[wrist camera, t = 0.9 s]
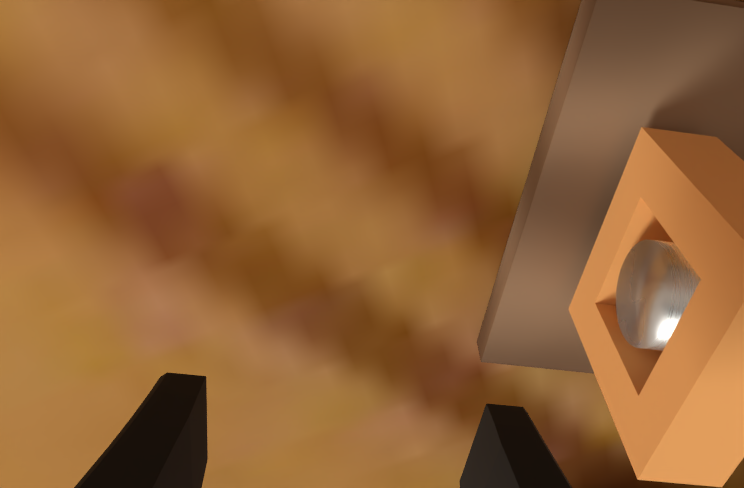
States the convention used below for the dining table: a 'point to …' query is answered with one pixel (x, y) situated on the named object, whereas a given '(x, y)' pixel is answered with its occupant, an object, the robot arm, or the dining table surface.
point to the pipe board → (606, 154)
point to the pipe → (653, 293)
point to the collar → (698, 322)
